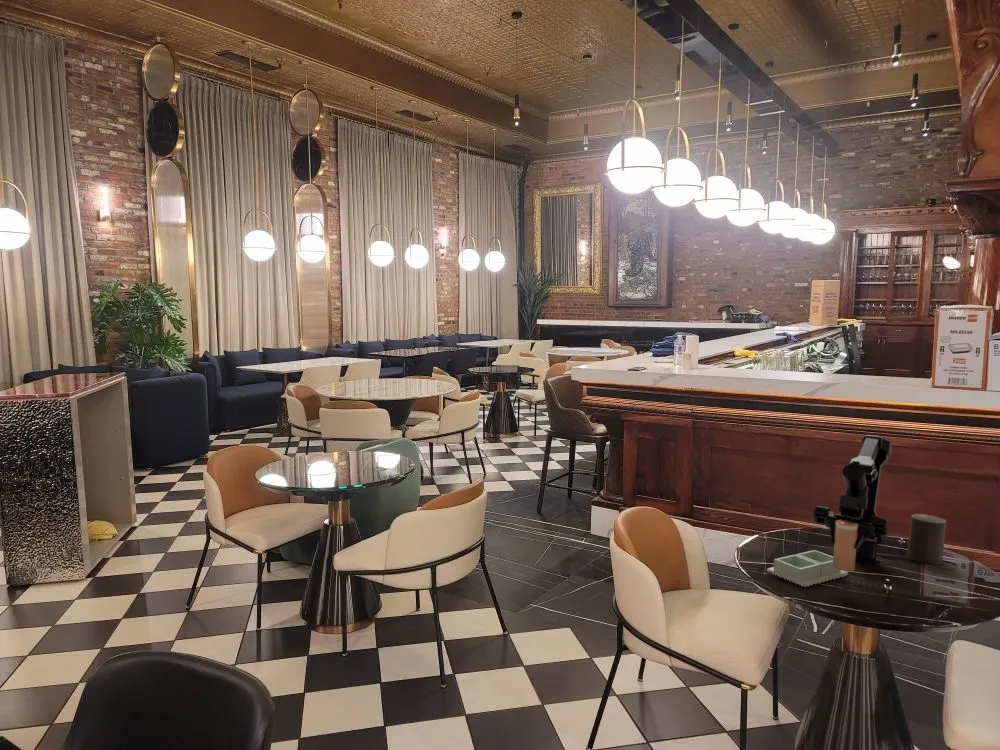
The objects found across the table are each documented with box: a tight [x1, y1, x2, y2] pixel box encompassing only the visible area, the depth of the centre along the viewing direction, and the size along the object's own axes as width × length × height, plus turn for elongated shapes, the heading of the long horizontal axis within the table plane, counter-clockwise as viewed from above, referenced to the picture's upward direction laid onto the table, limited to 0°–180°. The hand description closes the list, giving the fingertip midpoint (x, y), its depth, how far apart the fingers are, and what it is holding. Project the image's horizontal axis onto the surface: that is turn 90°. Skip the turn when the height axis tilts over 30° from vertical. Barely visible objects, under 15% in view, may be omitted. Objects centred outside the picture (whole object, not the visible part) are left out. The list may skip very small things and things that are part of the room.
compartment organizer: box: [766, 549, 849, 588], centre depth 208 cm, size 20×13×4 cm, turn 120°
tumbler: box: [833, 520, 858, 572], centre depth 194 cm, size 6×6×13 cm
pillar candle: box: [906, 513, 947, 566], centre depth 222 cm, size 10×10×15 cm
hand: (844, 546), depth 193 cm, fingers closed on tumbler, 5 cm apart
